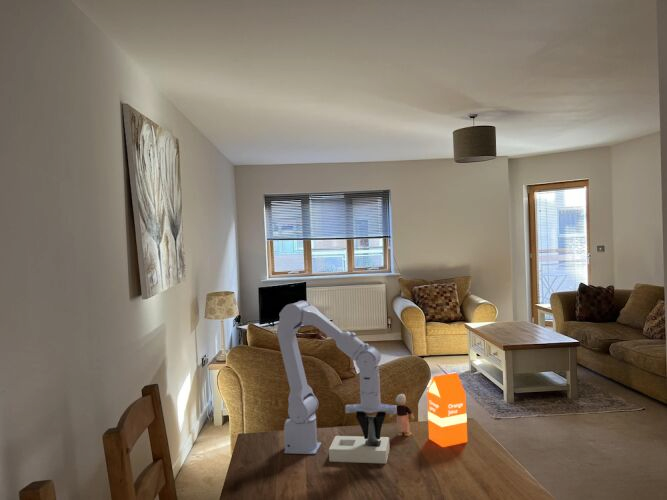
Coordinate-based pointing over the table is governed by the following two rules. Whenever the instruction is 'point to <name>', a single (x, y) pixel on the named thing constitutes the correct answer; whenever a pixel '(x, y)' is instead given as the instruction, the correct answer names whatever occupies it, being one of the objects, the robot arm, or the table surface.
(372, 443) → the peg
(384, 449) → the hole block
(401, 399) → the grandmother figurine
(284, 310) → the robot arm
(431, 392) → the orange juice
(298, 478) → the table surface
